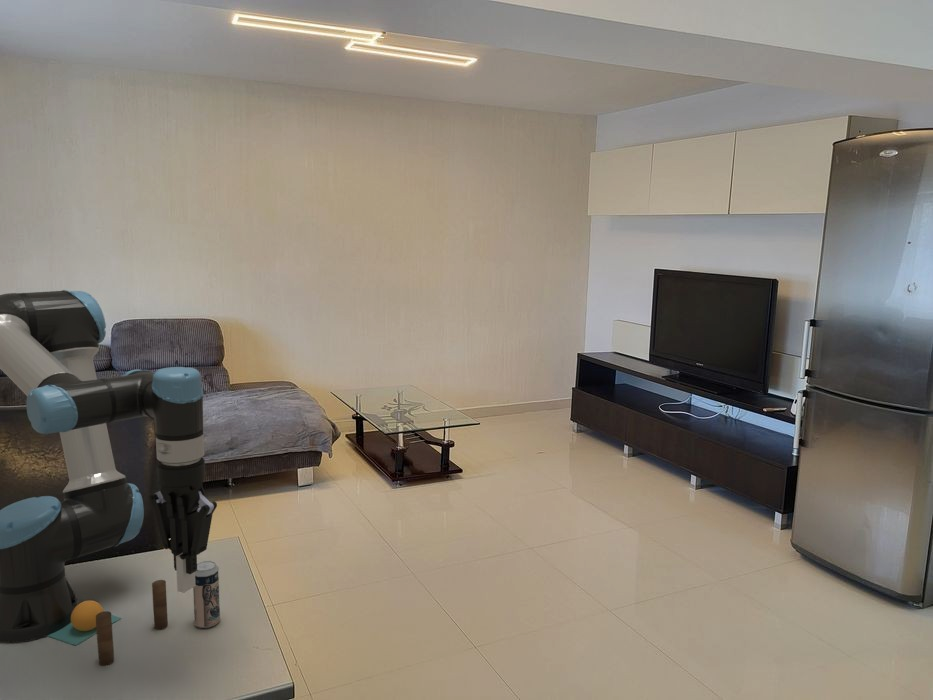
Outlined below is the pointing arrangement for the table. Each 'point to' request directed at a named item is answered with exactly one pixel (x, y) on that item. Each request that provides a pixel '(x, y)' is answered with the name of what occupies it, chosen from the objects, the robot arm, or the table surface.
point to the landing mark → (76, 633)
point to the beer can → (206, 595)
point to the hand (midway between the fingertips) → (186, 588)
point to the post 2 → (159, 604)
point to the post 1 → (104, 638)
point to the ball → (85, 615)
